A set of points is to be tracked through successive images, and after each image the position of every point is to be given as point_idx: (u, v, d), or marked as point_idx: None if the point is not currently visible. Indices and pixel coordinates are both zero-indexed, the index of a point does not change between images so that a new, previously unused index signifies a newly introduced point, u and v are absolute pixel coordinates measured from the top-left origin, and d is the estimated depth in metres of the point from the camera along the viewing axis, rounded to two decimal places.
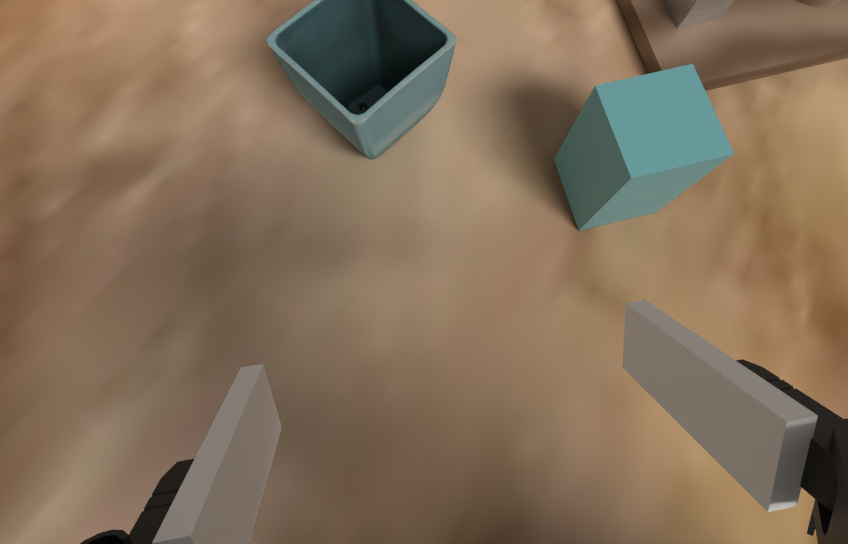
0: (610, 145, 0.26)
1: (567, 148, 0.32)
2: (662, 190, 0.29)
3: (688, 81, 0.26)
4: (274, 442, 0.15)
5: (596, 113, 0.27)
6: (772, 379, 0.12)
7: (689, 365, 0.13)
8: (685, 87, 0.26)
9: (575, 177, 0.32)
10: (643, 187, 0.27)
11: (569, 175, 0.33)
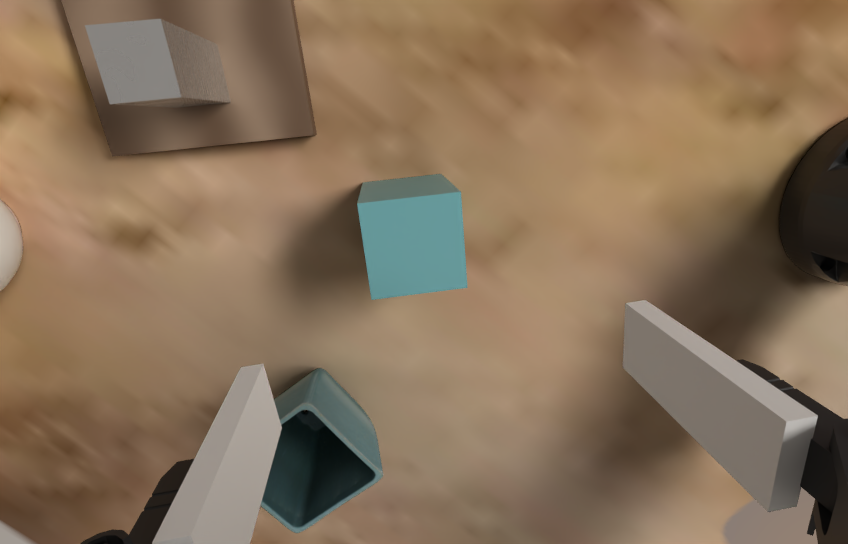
0: None
1: None
2: None
3: (377, 213, 0.26)
4: (274, 442, 0.15)
5: None
6: (772, 379, 0.12)
7: (689, 365, 0.13)
8: (383, 218, 0.26)
9: None
10: None
11: None
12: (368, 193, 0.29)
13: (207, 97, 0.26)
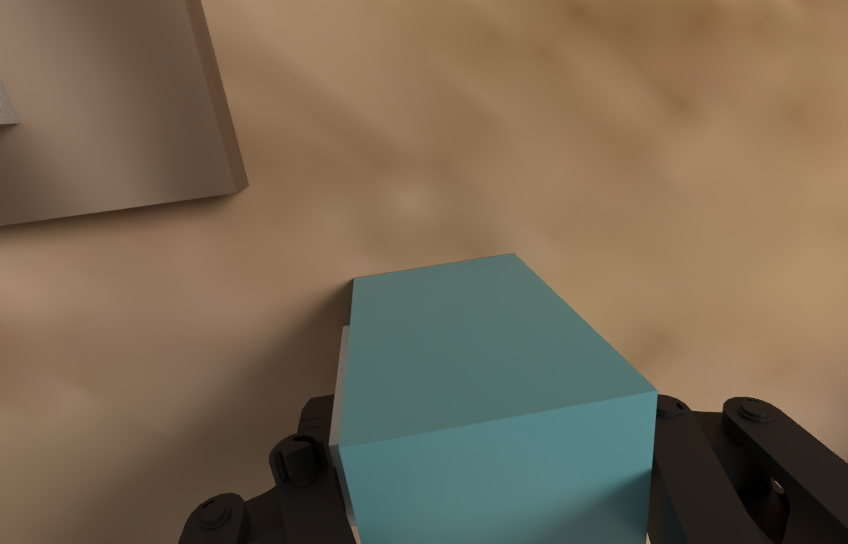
0: None
1: None
2: None
3: (403, 467, 0.08)
4: None
5: None
6: None
7: None
8: (422, 477, 0.09)
9: None
10: None
11: None
12: (370, 353, 0.11)
13: None
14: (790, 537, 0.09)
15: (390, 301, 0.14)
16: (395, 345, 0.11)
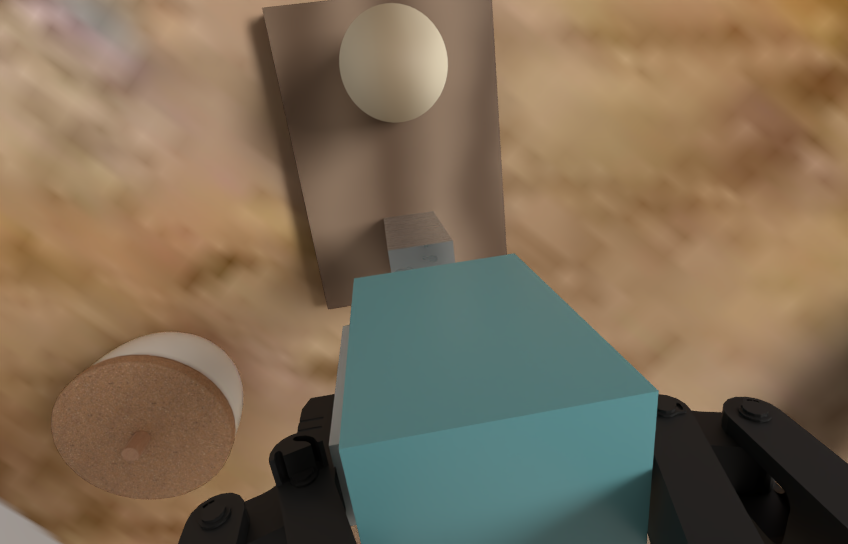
0: None
1: None
2: None
3: (403, 468, 0.08)
4: None
5: None
6: None
7: None
8: (423, 478, 0.09)
9: None
10: None
11: None
12: (370, 353, 0.11)
13: None
14: (790, 537, 0.09)
15: (390, 301, 0.14)
16: (395, 345, 0.11)
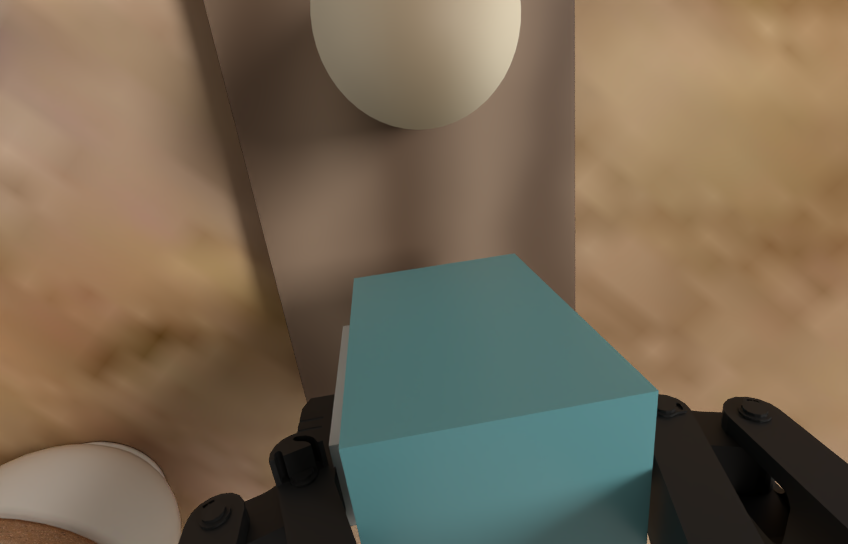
0: None
1: None
2: None
3: (403, 468, 0.08)
4: None
5: None
6: None
7: None
8: (423, 478, 0.09)
9: None
10: None
11: None
12: (370, 353, 0.11)
13: None
14: (790, 537, 0.09)
15: (390, 301, 0.14)
16: (395, 345, 0.11)
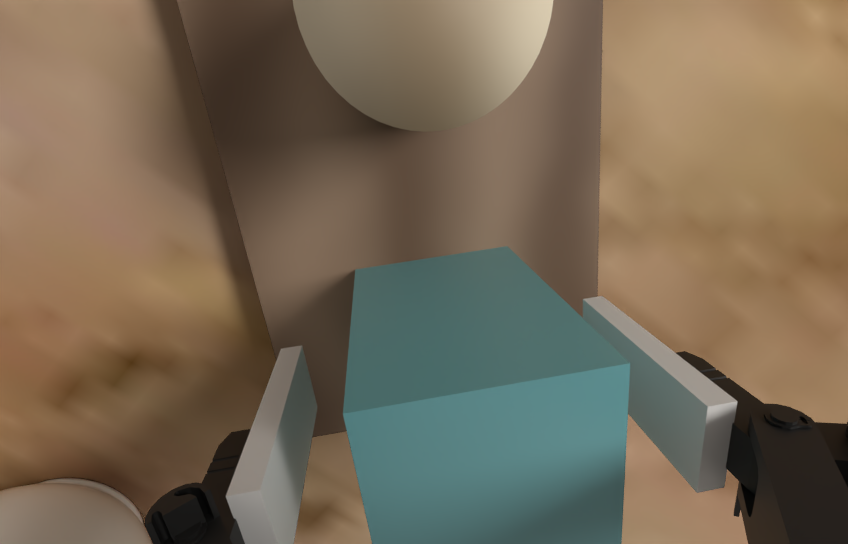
0: None
1: None
2: None
3: (400, 432, 0.09)
4: (312, 419, 0.16)
5: None
6: (708, 369, 0.13)
7: (633, 356, 0.13)
8: (418, 442, 0.09)
9: None
10: None
11: None
12: (370, 334, 0.12)
13: None
14: None
15: (389, 289, 0.15)
16: (394, 327, 0.12)
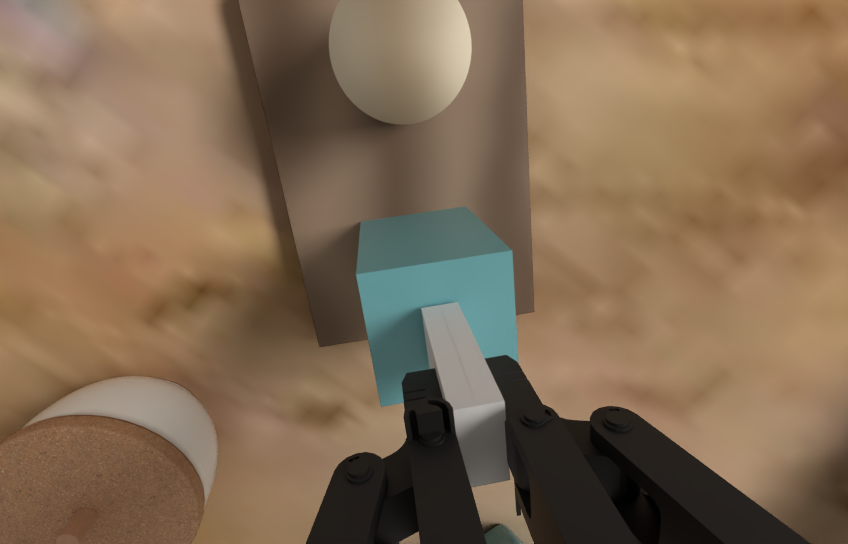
0: None
1: None
2: None
3: (387, 287, 0.17)
4: None
5: None
6: (516, 371, 0.14)
7: None
8: (396, 293, 0.17)
9: None
10: None
11: None
12: (371, 248, 0.20)
13: None
14: None
15: (383, 229, 0.23)
16: (385, 244, 0.20)
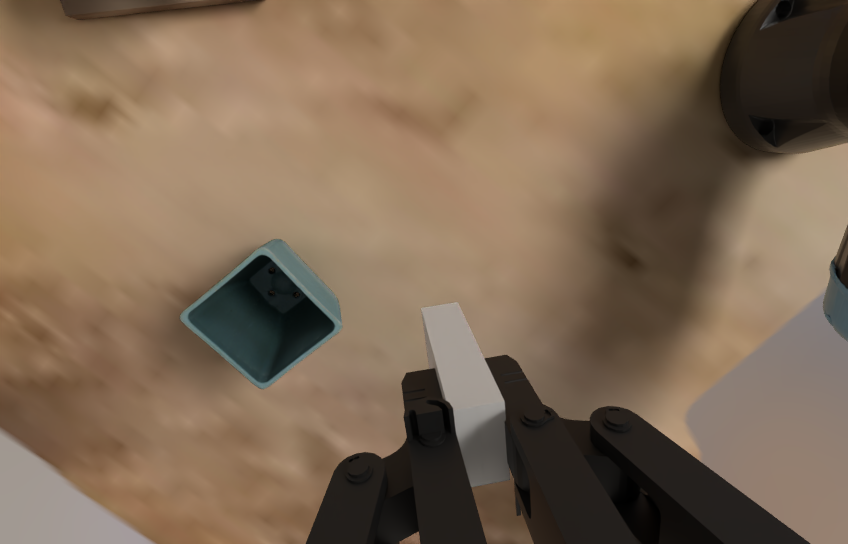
0: None
1: None
2: None
3: None
4: None
5: None
6: (516, 372, 0.14)
7: None
8: None
9: None
10: None
11: None
12: None
13: None
14: None
15: None
16: None
